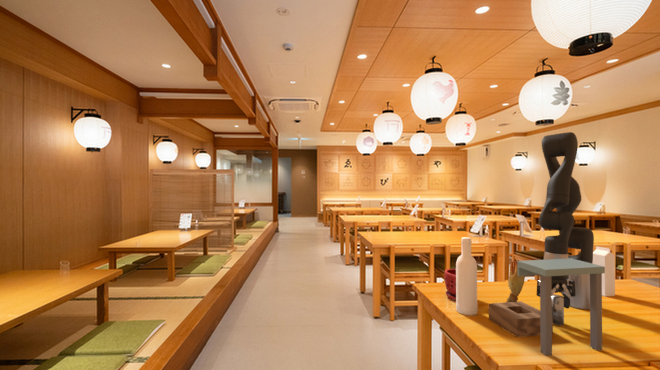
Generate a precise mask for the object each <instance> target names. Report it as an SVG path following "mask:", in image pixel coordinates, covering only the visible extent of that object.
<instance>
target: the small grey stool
mask: <svg viewBox="0 0 660 370" xmlns="http://www.w3.org/2000/svg"><path fill="white" fill-rule="evenodd" d="M516 262H517V276H525V277H531V276H539V280H540V297H539V299H540V300H539V310H540V335H539V337H540V346H539V347H540V353H541V354H542V355H544V356H546V357H548V356H553V337H552V336H553V334H552V284H551V276H563V275H581V274H590V309H589V325H590V327H589V330H590V332H589V339H590V341H589V347H590V348H591V347H592V348H591V349H593V348H594V349H593V350H595V349H596V350H595V351H597V350H598V351H602V350H603V296H602V273H605V267H604V266H600V265H596V264H592V263H588V262H584V261H580V260H576V259H572V258H570V259H548V260H544V259H531V260H530V259H528V260H517V261H516Z"/></svg>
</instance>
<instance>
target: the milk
mask: <svg viewBox="0 0 660 370" xmlns="http://www.w3.org/2000/svg"><path fill="white" fill-rule="evenodd" d="M615 263H616V255H615V254H614V253H612V252H611V249H610V248H609V247H604V246H595V250H593V262H592V264H596V265H600V266H604V267H605V273H602V297H613V296H616V264H615Z"/></svg>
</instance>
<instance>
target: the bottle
mask: <svg viewBox="0 0 660 370" xmlns="http://www.w3.org/2000/svg"><path fill="white" fill-rule="evenodd" d="M460 242H461V254H460V255H459V256H457V259H456V262H455V269H456V301H455V310H456V312H458V313H459V314H461V315H464V316H476V315H477V314H478V264H477V261H476V259H475V258H474V256H472V238H471V237H467V236H464V237H461V241H460Z"/></svg>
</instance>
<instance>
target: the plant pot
mask: <svg viewBox="0 0 660 370" xmlns="http://www.w3.org/2000/svg"><path fill="white" fill-rule="evenodd" d="M444 284H445V288H446V291H445V296H446V297H447V298H449V299H450V300H451V299H452V301H455V302H456V268H449V269H445V270H444Z"/></svg>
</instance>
